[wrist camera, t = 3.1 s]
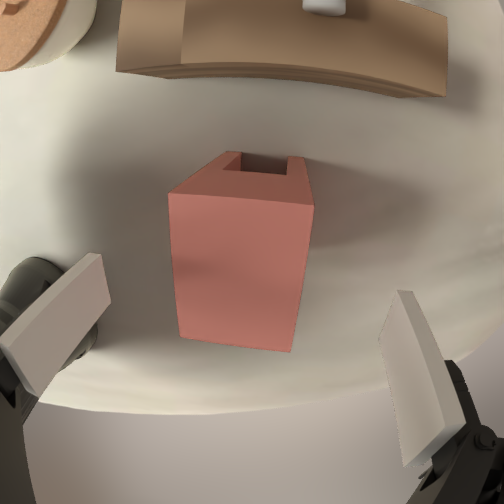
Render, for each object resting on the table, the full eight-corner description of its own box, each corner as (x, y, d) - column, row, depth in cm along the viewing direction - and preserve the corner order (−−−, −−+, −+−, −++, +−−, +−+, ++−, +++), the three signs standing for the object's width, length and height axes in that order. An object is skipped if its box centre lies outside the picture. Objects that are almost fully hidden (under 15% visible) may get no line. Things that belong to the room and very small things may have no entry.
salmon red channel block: (293, 250, 26) (290, 352, 15) (224, 243, 26) (180, 337, 16) (303, 157, 22) (314, 205, 12) (226, 151, 23) (167, 193, 12)
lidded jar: (126, 35, 19) (54, 16, 10) (43, 88, 21) (-28, 98, 13) (109, -44, 14) (50, -74, 6) (32, 12, 17) (-31, 6, 8)
